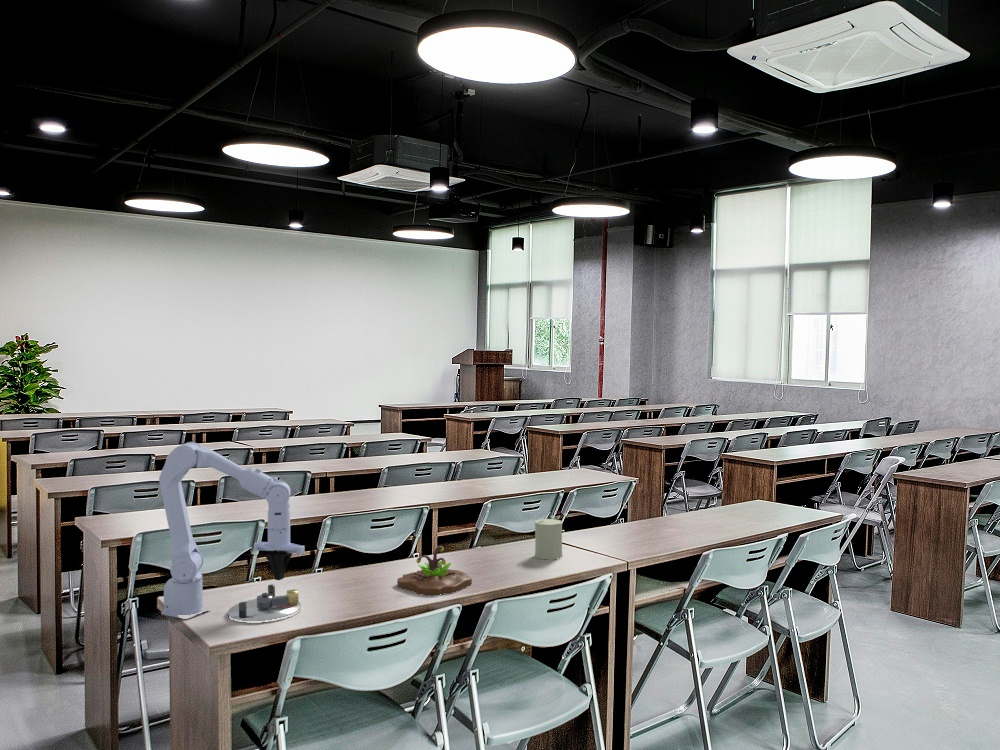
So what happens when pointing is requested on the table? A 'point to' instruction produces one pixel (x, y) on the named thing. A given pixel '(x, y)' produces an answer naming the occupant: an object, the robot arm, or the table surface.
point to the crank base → (252, 613)
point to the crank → (277, 600)
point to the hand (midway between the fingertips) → (279, 579)
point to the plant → (434, 578)
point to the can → (548, 539)
